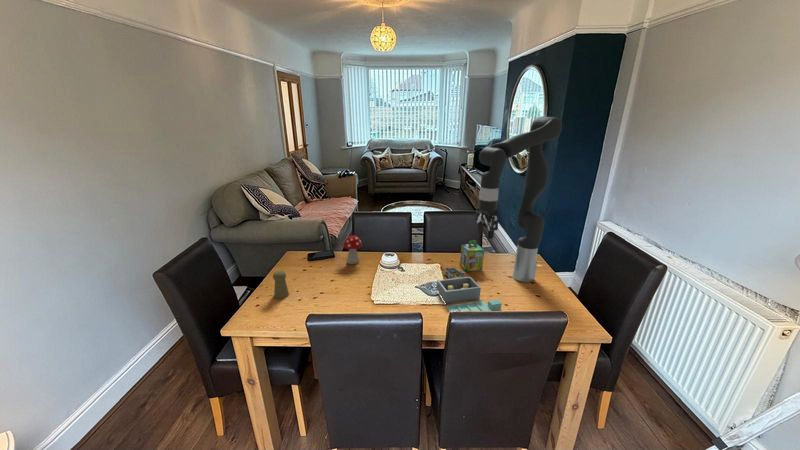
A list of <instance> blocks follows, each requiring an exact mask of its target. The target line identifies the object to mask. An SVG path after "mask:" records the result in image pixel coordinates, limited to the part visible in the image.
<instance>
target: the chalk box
mask: <svg viewBox="0 0 800 450" xmlns="http://www.w3.org/2000/svg"><path fill="white" fill-rule="evenodd" d="M460 247H461V249H460V259H459V265H460V266H461V268H462V269H463V270H464V272H465V273H466V272H478V271H480V272H481V271H483V265H484V258H485V257H484V256H485V249H483V248H482V247H481V246H480V245H479V244H478V241H477V240H476V239H473V240H468V242H467V243H465V244H461V246H460Z"/></svg>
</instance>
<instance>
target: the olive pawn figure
mask: <svg viewBox="0 0 800 450" xmlns="http://www.w3.org/2000/svg"><path fill="white" fill-rule="evenodd" d="M272 278H273V280H274V292H273V295H274V296H273V297H274V299H277V300H283V299H285V298H288V297H289V296H290V292H289V289H288V285H287V281H286V278H287V274H286V272H285V271H284V270H278V271H275V272H273V274H272Z"/></svg>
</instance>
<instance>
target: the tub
mask: <svg viewBox="0 0 800 450" xmlns="http://www.w3.org/2000/svg"><path fill="white" fill-rule="evenodd" d="M437 290H438V291H439V293H440V295H441V296H442V298H443V300H444V301H445V303H446V304H445V305H451V304H452V305H453V304H457V303H458V304H460V303H468V302H472V301H473V302H475V301H481V300H480V298H481V290H482V287H481V285H479V284H478V283H477V282H476V281H475V280H474V279H473V278H472V277H471V276H465V277H463V278H459V277H458V278H454V279H449V278H447V279H439V280H436V291H437Z"/></svg>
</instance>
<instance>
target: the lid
mask: <svg viewBox="0 0 800 450" xmlns="http://www.w3.org/2000/svg"><path fill="white" fill-rule="evenodd" d="M502 305H503V303H502V301H500V300H499V299H491V300H488V301H487V303H486V302H485V301H484V300H477V301H473V302H472V301H470V302H463V303H458V304H457V303H455V304H452V305H451V304H449V305H446V306H445V307H446V309H447V311H448V310H449V311H450V312H453V311H454V312H456V311H461V312H463V311H493V312H497V311H502ZM449 311H448V312H449ZM450 312H449V313H450Z"/></svg>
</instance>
